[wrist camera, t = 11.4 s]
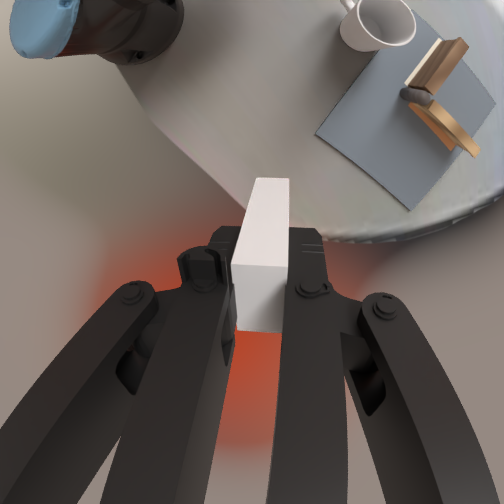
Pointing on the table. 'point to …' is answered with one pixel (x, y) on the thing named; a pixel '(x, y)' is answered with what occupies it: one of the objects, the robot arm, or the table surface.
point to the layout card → (404, 118)
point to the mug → (377, 24)
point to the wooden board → (449, 126)
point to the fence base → (434, 71)
